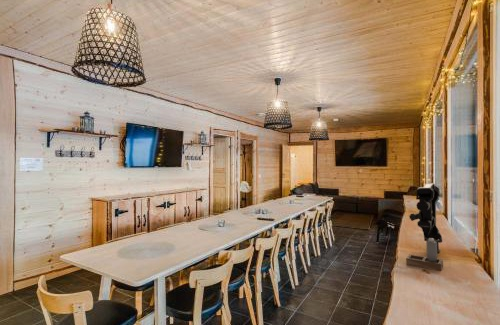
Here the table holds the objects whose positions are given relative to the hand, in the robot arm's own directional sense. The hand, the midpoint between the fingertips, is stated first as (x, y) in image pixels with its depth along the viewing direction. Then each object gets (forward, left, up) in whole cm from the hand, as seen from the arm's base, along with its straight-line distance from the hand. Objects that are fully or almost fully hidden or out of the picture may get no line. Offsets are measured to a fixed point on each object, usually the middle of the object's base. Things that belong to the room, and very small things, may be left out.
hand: (427, 236), depth 157 cm
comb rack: (+13, 0, -13) cm, 19 cm away
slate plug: (+13, +4, -13) cm, 19 cm away
